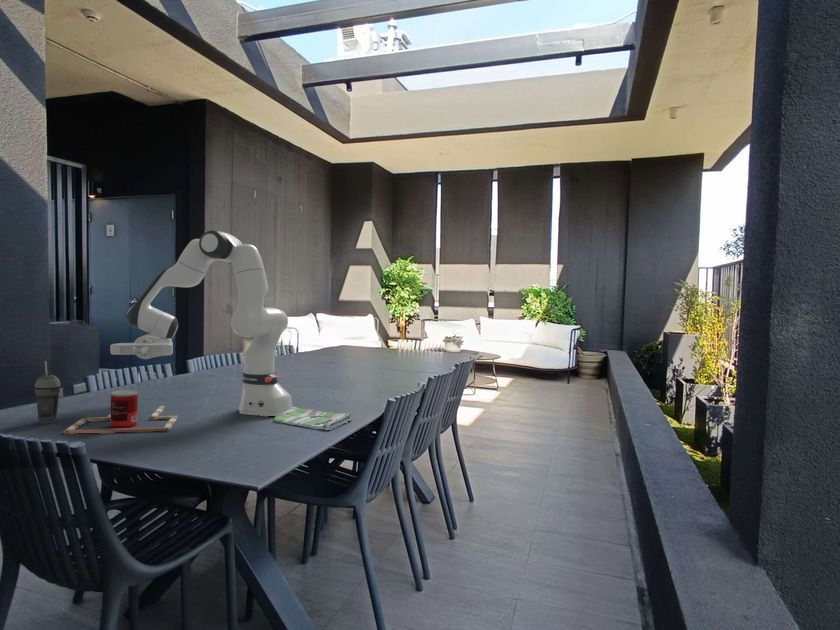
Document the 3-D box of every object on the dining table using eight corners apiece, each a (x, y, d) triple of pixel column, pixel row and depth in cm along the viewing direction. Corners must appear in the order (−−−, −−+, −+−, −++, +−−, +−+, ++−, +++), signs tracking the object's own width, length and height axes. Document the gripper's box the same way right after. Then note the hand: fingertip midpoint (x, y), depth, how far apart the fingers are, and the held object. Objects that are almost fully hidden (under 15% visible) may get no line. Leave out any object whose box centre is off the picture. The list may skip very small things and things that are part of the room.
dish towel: (328, 433, 175) (328, 422, 175) (271, 423, 183) (271, 413, 183) (353, 422, 191) (353, 412, 190) (299, 414, 199) (300, 404, 199)
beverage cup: (43, 425, 167) (44, 363, 166) (28, 423, 170) (28, 361, 169) (66, 420, 174) (66, 360, 173) (50, 418, 176) (51, 358, 176)
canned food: (135, 421, 177) (135, 389, 177) (139, 426, 171) (139, 393, 170) (108, 424, 172) (109, 390, 172) (112, 429, 166) (112, 395, 166)
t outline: (97, 409, 190) (97, 407, 190) (184, 408, 198) (184, 405, 198) (63, 434, 159) (63, 431, 159) (168, 431, 167) (168, 428, 167)
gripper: (115, 338, 195) (104, 342, 181) (175, 338, 200) (169, 341, 187) (115, 355, 195) (104, 360, 182) (175, 354, 200) (169, 359, 187)
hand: (137, 350), depth 184 cm, fingers closed
